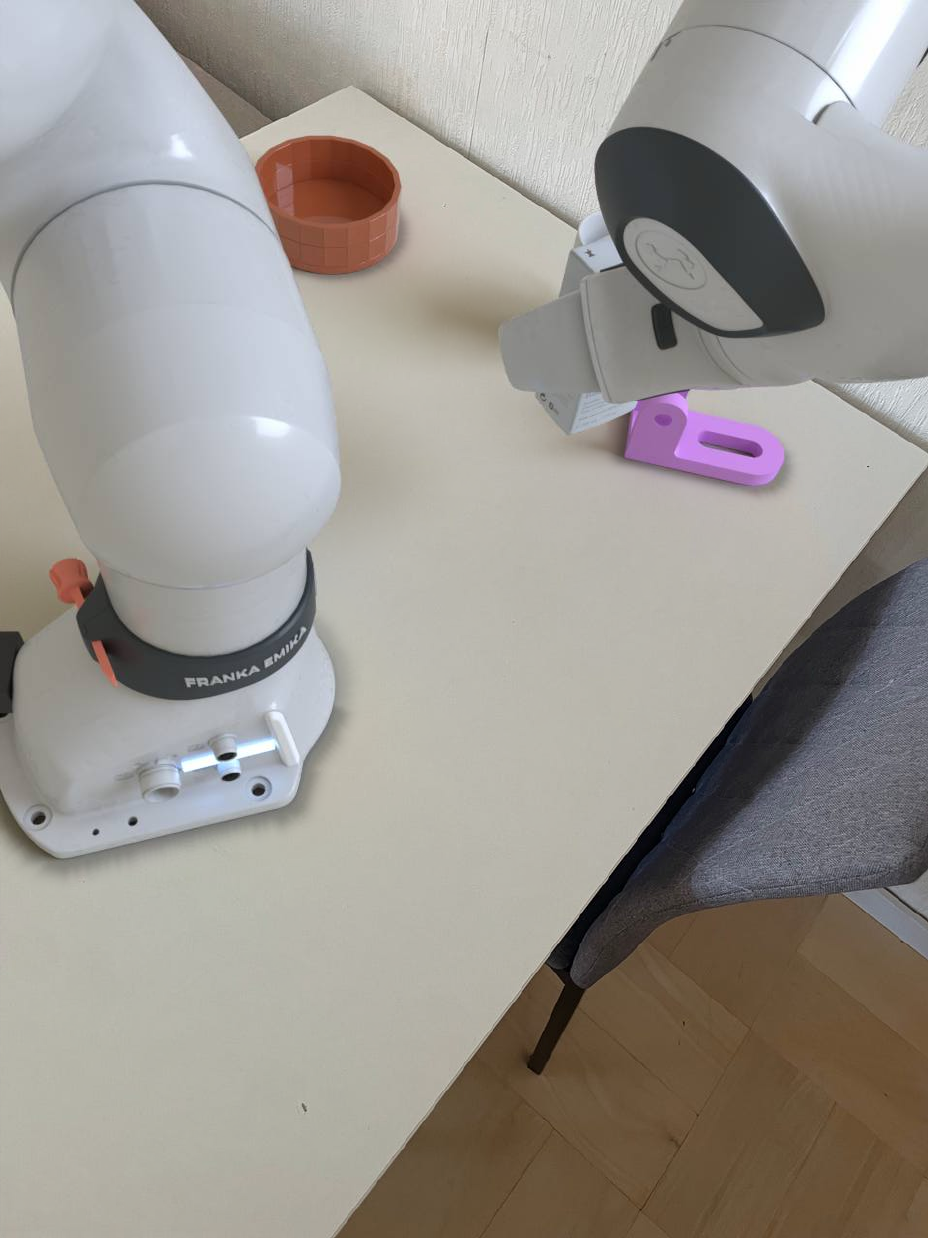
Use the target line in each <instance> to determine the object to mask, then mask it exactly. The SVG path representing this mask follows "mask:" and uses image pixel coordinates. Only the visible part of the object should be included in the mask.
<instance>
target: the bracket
mask: <svg viewBox="0 0 928 1238" xmlns="http://www.w3.org/2000/svg"><path fill="white" fill-rule="evenodd" d="M689 392H690V391H685V392H679V393H674V394H668V395H663V396H659V397H655V398H650V399H646V400H641V401H638V402H637V405H636V407H635V408H634V409H633V410H632V411H630V417H629V422H628V423H629V424H628V430H627V431H628V432H627V437H626V443H625V450H624V459H628V460H633V461H637V462H642V463H646V464H651V465H655V466H659V467H663V468H667V469H668V468H669V469H673V470H677V471H682V472H687V473H691V474H694V475H700V476H704V477H708V478H712V479H718V480H720V481H721V480H722V481H726V482H730V483H735V484H740V485H744V486H749V487H758V486H763V485H766V484H768V483H770V482H771V481H773V480H774V479H775V478H776V476H777V474H778V473H779V471H780V470H781V468H782V466H783V464H784V461H785V457H786V455H785V450H784V447H783V445H782V443H781V442H780V440H779V439H778V438H777V437H776V435H774V434H773V433H772V432H771V431H769V430H767V429H765V428H764V427H761V426H758V425H755V424H751V423H746V422H743V421H737V420H733V419H729V418H724V417H719V416H715V415H711V414H708V413H707V414H706V413H703V412H698V411H693V410H689V404H688V401H687V397H688V394H689ZM702 443H705V444H710V445H714V446H718V447H723V448H727V449H731V450H737V451H741V452H745V453H748V454H751V455H752V456H748V455H743V454H738V453H735V452H731V451H726V450H721V449H717V448H712V447H708V446H705V445H703V444H702Z"/></svg>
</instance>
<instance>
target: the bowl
mask: <svg viewBox="0 0 928 1238" xmlns="http://www.w3.org/2000/svg"><path fill="white" fill-rule="evenodd" d="M254 168H255V171H256V174H257V176H258V179H259V182H260V185H261V188H262V190H263V193H264V196H265V199H266V201H267V204H268V207H269V210H270V213H271V215H272V218H273V221H274V224H275V226H276V229H277V232H278V235H279V238H280V240H281V243H282V246H283V249H284V251H285V254H286V256H287V258H288V260H289V263H290V265H291V268H295V269H299V270H301V271H305V272H310V273H315V274H320V275H321V274H322V275H343V274H350V273H355V272H359V271H363V270H365V269H368V268H370V267H372V266H374V265H376V264H377V263H378V264H379V262H381V261H382V260H383V259H385V258H386V257H387V256H388V255H389V254H390V253H391V251H392V250H393V248H394V247H395V245H396V244H397V243H396V242H397V240H398V236H399V227H400V218H401V205H402V204H401V202H402V189H403V185H402V181H401V177H400V172H399V171H398V169H397V168H396V167H395V166H394V163H392V161H391V160H390V159H389V158H388V157H387V156H385V154H383V153H382V152H380V151H379V150H377V149H375V148H374V147H373V146H371V145H367V144H365V143H362V142H361V141H358V140H355V139H351V138H347V137H342V136H336V135H305V136H300V137H295V138H291V139H286V140H285V141H282V142H281V143H278V144H276V145H274V146H271V147H270V148H269V149H268V150H266V151H265V152H264V153H263V154H262V155H261V156H260V157H259V158H258V159H257V161H256V164H255V165H254Z"/></svg>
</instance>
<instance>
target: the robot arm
mask: <svg viewBox="0 0 928 1238" xmlns="http://www.w3.org/2000/svg"><path fill="white" fill-rule="evenodd" d="M176 51H177V50H175V48H173V46H172V45H171V43H170V42H169V41H168V40H167V38H166V37H165V36H164V35H163V33H162V32H161V31H160V30H159V28H158V27H157V26H156V25H155V24H154V22H153V21H152V20H151V19H150V18H149V16H148V15H147V14H146V13H145V12H144V11H143V9H142V8H141V7H140V6H139V5H138V4H137V3H136V1H135V0H0V284H1V286H2V288H3V290H4V292H5V294H6V296H7V299H8V300H9V303H10V306H11V310H12V314H13V318H14V321H15V325H16V326H15V327H16V332H17V337H18V344H19V349H20V355H21V362H22V367H23V374H24V379H25V385H26V391H27V398H28V403H29V410H30V415H31V422H32V427H33V431H34V434H35V438H36V440H37V442H38V446H39V448H40V451H41V454H42V456H43V458H44V460H45V463H46V466H47V468H48V471H49V473H50V475H51V477H52V480H53V482H54V485H55V486H56V488H57V491H58V494H59V496H60V497H61V499H62V502H63V504H64V506H65V508H66V511H67V513H68V515H69V517H70V519H71V521H72V523H73V525H74V527H75V530H76V532H77V533H78V535H79V538H80V540H81V542H82V543H83V545H84V546H85V547H86V549H87V550H88V552H89V553H91V554H92V556H93V557H94V558H95V560H96V563H97V566H98V569H99V571H98V574H97V577H96V580H95V583H92V581H91V580H90V579H89V575H88V569H87V566H86V564H85V562H84V561H83V560H81V559H78V558H77V557H76V558H74V557H70V558H69V557H68V558H64V559H62V560H58V561H57V562H56V563H54V564H53V565H52V566H51V568H50V569H49V571H48V573H49V574H48V576H49V578H50V581H51V583H52V584H53V586H54V587H55V589H56V591H57V592H56V593H57V598H58V600H59V601H60V602H62V603H64V604H67V605H71V604H74V605H73V606H71V607H70V608H69V609H67V610H66V611H65V612H64V613H62V614H61V615H60V616H59V617H57V618H56V619H54V620H53V621H52V622H50V623H49V624H47V626H45V627H44V628H43V629H41V630H40V631H38V632H37V633H36V634H34V635H33V636H32V637H30V638H29V639H27V640H26V642H25V641H24V639H23V637H22V635H21V633H20V631H17V630H16V631H15V630H14V631H12V630H0V714H6V715H5V716H3V717H0V791H1V794H2V796H3V799H4V801H5V803H6V805H7V807H8V809H9V811H10V813H11V815H12V817H13V818H14V820H15V821H16V823H17V824H18V827H20V829H21V830H22V831H23V832H24V834H25V835H26V836H27V837H28V838H29V839H30V840H31V842H33V843H34V844H35V845H36V846H37V847H39V848H40V849H42V850H43V851H44V852H45V853H47V854H49V855H50V856H52V857H54V858H56V859H61V860H63V859H70V858H76V857H80V856H84V855H88V854H93V853H97V852H102V851H107V850H109V849H114V848H119V847H122V846H127V845H131V844H135V843H139V842H143V841H148V840H152V839H156V838H160V837H165V836H169V835H173V834H177V833H181V832H186V831H189V830H193V829H197V828H202V827H203V828H204V827H207V826H211V825H215V824H220V823H224V822H227V821H231V820H236V819H240V818H244V817H248V816H253V815H256V814H260V813H265V812H269V811H273V810H277V809H281V808H283V807H286V806H288V805H290V803H291V802H293V800H294V799H295V798H296V797H295V796H296V795H297V792H298V789H299V786H300V782H301V779H302V778H301V777H302V773H303V767H304V762H305V760H306V758H307V756H308V755H309V753H310V751H311V750H312V748H313V747H314V746H315V744H316V743H317V741H318V740H319V738H320V737H321V735H322V734H323V732H324V731H325V728H326V726H327V724H328V723H329V720H330V717H331V714H332V711H333V708H334V703H335V697H336V676H335V671H334V666H333V662H332V660H331V657H330V654H329V652H328V650H327V648H326V647H325V645H324V643H323V642H322V640H321V638H320V637H319V636H318V634H317V631H316V628H315V624H314V621H315V617H316V613H317V596H318V584H317V575H316V569H315V564H314V560H313V556H312V552H311V550H309V548H308V546H309V545H310V544H311V543H312V542H313V541H314V540H315V539H316V537H317V536H318V535H319V534H320V532H321V531H322V530H323V529H324V527H325V526H326V525H327V523H329V521H330V519H331V517H332V516H333V514H334V512H335V510H336V508H337V505H338V502H339V498H340V495H341V489H342V488H341V486H342V474H341V472H342V471H341V459H340V458H341V457H340V444H339V435H338V425H337V417H336V409H335V401H334V394H333V389H332V388H333V387H332V382H331V381H332V380H331V376H330V371H329V368H328V365H327V362H326V360H325V357H324V353H323V351H322V348H321V346H320V342H319V339H318V337H317V334H316V331H315V329H314V325H313V323H312V321H311V318H310V315H309V312H308V310H307V307H306V304H305V301H304V299H303V296H302V293H301V291H300V287H299V285H298V282H297V278H296V276H295V274H294V271H293V267H292V266H291V265H290V263H289V260H288V258H287V256H286V254H285V251H284V249H283V246H282V243H281V240H280V238H279V235H278V232H277V229H276V226H275V224H274V221H273V218H272V215H271V213H270V210H269V207H268V204H267V201H266V199H265V196H264V193H263V190H262V188H261V185H260V182H259V179H258V176H257V174H256V171H255V165H254V162H253V160H252V159H251V157H250V155H249V153H248V150H247V149H246V147H245V146H244V145H243V143H242V142H241V140H240V138H239V137H238V135H237V134H236V133H235V131H234V128H232V126H231V125H230V123H229V122H228V120H227V119H226V118H225V116H224V114H223V113H222V111H221V110H220V109H219V108H218V107H217V105H216V104H215V102H214V101H213V100H212V98H211V97H210V95H209V94H208V93H207V91H206V89H204V87H203V86H202V85H201V83H200V81H199V80H198V79H197V78H196V76H195V75H194V74H193V72H192V71H191V70H190V68H189V67H188V66H187V64H186V63H185V62H184V60H183V59H182V57H180V55H179V54H178V52H176ZM927 56H928V0H683V1H682V2H681V4H680V6H679V8H678V10H677V11H676V13H675V14H674V17H673V18H672V20H671V21H670V24H669V25H668V27H667V29H666V30H665V33H664V34H663V36H662V37H661V39H660V41H659V43H658V44H657V46H656V47H655V48H654V49H653V51H652V53H651V54H650V56H649V57H648V59H647V61H646V63H645V65H644V67H643V69H642V70H641V72H640V74H639V75H638V76H637V79H636V80H635V82H634V84H633V86H632V88H631V89H630V91H629V93H628V95H627V96H626V98H625V100H624V102H623V103H622V106H621V107H620V109H619V111H618V113H616V116H615V118H614V120H613V122H612V123H611V125H610V127H609V129H608V131H607V133H606V135H605V137H604V139H603V140H602V142H601V143H600V145H599V147H598V148H597V151H596V154H595V157H594V163H593V173H594V185H595V190H596V197H597V201H598V206H599V208H600V210H601V212H602V215H603V218H604V221H605V224H606V227H607V229H608V232H609V234H610V236H611V239H612V241H613V243H614V245H615V248H616V250H617V252H618V254H619V256H620V258H621V260H622V262H623V263H620V264H617V265H614V266H611V267H608V268H605V269H602V270H600V272H599V273H595V274H592V275H588V276H585V277H584V278H582V280H581V281H580V290H577V291H575V292H572V293H569V294H567V295H564V296H562V297H559V296H558V297H557V298H554V299H552V300H550V301H548V302H545V303H542V304H540V305H538V306H535V307H532V308H530V309H528V310H525V311H523V312H520V313H518V314H516V315H513V316H512V317H510V318H508V319H506V320H505V321H503V322H502V323H501V324H500V326H499V327H498V332H497V336H498V337H497V338H498V344H499V345H498V346H499V350H500V354H501V360H502V363H503V367H504V371H505V375H506V377H507V379H508V382H509V383H510V385H511V386H512V388H514V389H516V390H517V391H522V392H530V393H536V392H539V393H555V394H583V393H594V392H601V393H602V396H603V399H604V401H605V402H607V403H611V404H621V403H628V402H632V401H641V400H646V399H650V398H655V397H659V396H663V395H668V394H674V393H679V392H685V391H689V392H690V391H691V390H697V391H731V390H737V389H748V388H774V387H789V386H794V385H795V386H796V385H799V384H802V383H806V382H808V381H811V380H813V379H818V380H821V381H824V382H828V383H832V384H841V385H854V384H875V383H887V382H899V381H907V380H908V381H909V380H917V379H924V378H928V149H927V148H924V147H922V146H918V145H915V144H912V143H910V142H908V141H906V140H903V139H901V138H898V137H896V136H895V135H893V134H890V133H888V132H887V131H884V130H883V129H884V128H885V125H886V124H887V122H888V120H889V118H890V117H891V115H892V114H893V111H894V109H895V108H896V105H897V104H898V103H899V100H900V99H901V97H902V95H903V93H904V92H905V89H906V87H907V86H908V84H909V82H910V80H911V79H912V77H913V75H914V74H915V72H916V70H917V69H918V68H919V67H920V65H921V64H922V63H923V61H924V60H925V59H926V57H927ZM259 788H260V789H263V791H264V793H263V794H261V795H255V794H253V792H254V791H255V790H256V789H259ZM40 816H43V817H45V819H44V821H42V822H41V823H39V824H34V822H35V820H36V819H37V818H39V817H40ZM133 823H135V824H134V825H132V824H133Z"/></svg>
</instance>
